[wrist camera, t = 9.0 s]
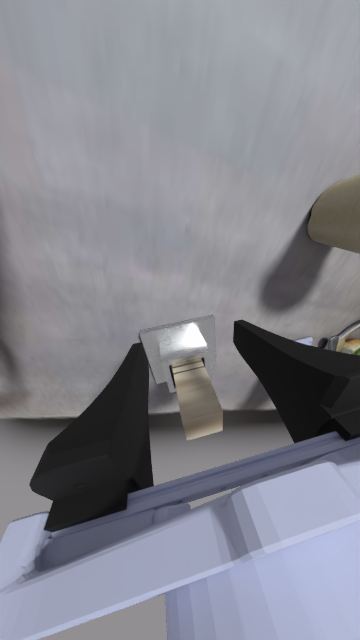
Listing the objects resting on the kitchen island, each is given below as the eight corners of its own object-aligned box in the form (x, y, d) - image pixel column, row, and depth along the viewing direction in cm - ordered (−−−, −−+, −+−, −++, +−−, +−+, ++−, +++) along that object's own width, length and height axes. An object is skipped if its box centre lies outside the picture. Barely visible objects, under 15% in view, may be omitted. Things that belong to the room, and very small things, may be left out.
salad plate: (289, 359, 33) (309, 376, 29) (371, 293, 28) (407, 304, 24) (324, 385, 42) (342, 401, 38) (391, 338, 36) (421, 351, 33)
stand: (214, 365, 29) (225, 388, 25) (156, 379, 28) (157, 405, 24) (212, 314, 24) (226, 333, 19) (139, 330, 23) (138, 353, 18)
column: (200, 370, 25) (222, 430, 17) (174, 376, 24) (186, 440, 17) (198, 350, 22) (223, 410, 15) (170, 357, 22) (181, 421, 15)
